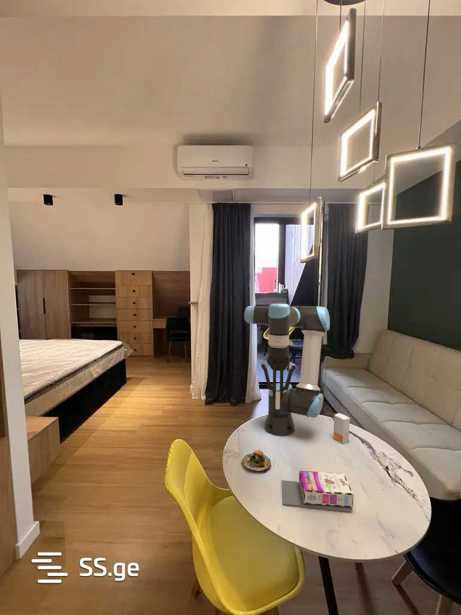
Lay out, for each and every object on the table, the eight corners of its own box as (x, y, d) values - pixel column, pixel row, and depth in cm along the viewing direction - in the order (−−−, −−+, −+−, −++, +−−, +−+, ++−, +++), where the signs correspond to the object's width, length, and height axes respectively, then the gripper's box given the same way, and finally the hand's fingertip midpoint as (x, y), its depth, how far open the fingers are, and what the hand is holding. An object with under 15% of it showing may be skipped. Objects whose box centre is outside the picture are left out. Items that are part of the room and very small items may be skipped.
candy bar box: (303, 504, 98) (353, 508, 97) (303, 490, 98) (354, 494, 96) (298, 482, 109) (344, 485, 108) (298, 469, 109) (344, 472, 107)
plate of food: (236, 462, 123) (236, 445, 122) (258, 453, 129) (258, 437, 129) (254, 478, 113) (254, 460, 112) (277, 468, 119) (277, 450, 118)
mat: (281, 481, 111) (281, 480, 111) (342, 487, 107) (342, 485, 107) (283, 505, 99) (283, 503, 99) (351, 512, 96) (351, 511, 96)
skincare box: (332, 438, 142) (333, 414, 141) (339, 436, 144) (339, 412, 143) (343, 444, 136) (344, 419, 135) (349, 442, 138) (350, 417, 137)
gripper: (260, 347, 105) (259, 410, 107) (297, 348, 103) (296, 413, 105) (261, 343, 112) (260, 402, 114) (295, 344, 110) (294, 404, 112)
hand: (277, 407), depth 110 cm, fingers closed
